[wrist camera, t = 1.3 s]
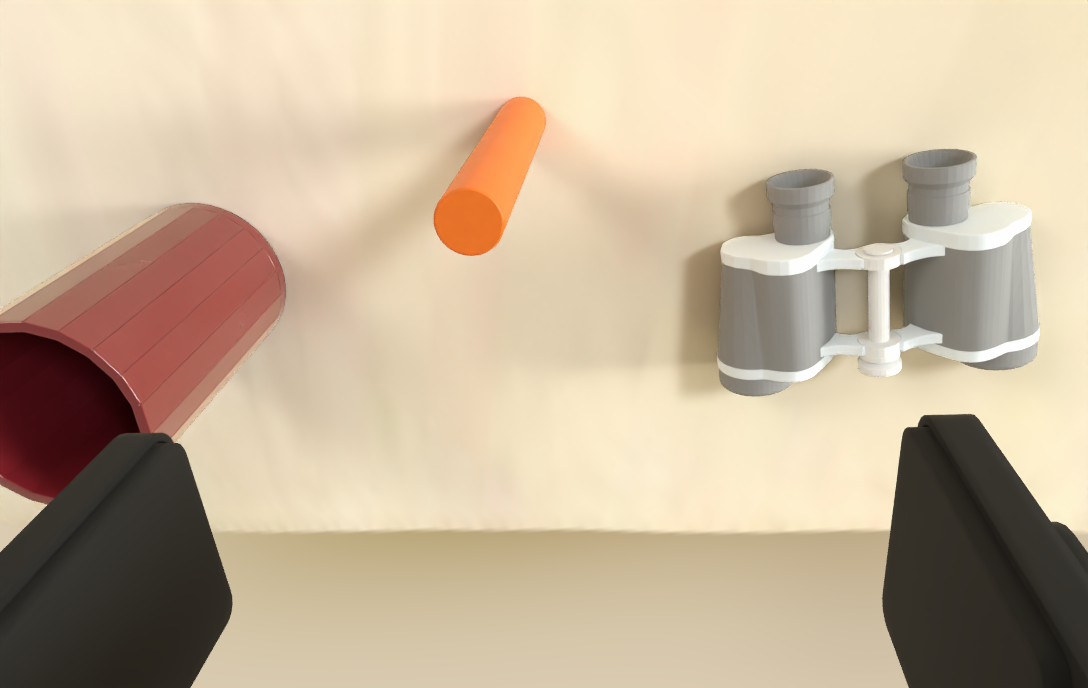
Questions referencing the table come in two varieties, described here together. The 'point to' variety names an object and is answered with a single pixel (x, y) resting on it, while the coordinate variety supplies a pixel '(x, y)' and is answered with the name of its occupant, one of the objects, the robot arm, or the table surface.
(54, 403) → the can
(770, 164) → the table surface
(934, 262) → the binoculars
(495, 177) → the solid orange cylinder
